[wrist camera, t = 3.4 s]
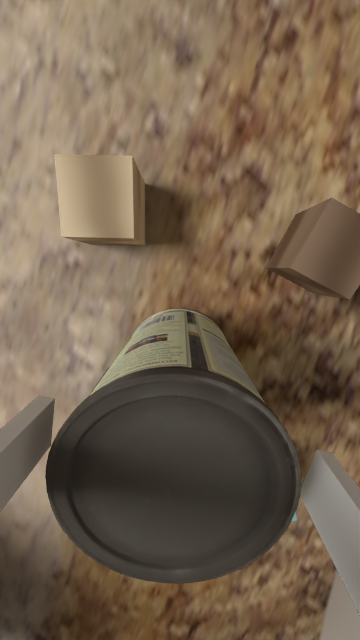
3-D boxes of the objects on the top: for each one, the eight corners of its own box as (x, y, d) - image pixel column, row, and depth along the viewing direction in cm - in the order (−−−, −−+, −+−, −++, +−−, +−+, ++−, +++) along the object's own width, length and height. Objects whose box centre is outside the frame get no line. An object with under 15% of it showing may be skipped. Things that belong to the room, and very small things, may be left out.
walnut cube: (265, 267, 21) (290, 267, 16) (295, 214, 20) (331, 197, 15) (311, 292, 21) (349, 299, 17) (343, 241, 20) (394, 233, 15)
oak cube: (90, 244, 21) (61, 236, 16) (86, 182, 20) (54, 154, 15) (145, 245, 21) (133, 238, 16) (145, 183, 20) (132, 155, 15)
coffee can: (180, 422, 25) (177, 620, 11) (106, 359, 23) (-7, 495, 9) (252, 357, 23) (358, 494, 9) (177, 285, 21) (166, 315, 8)
